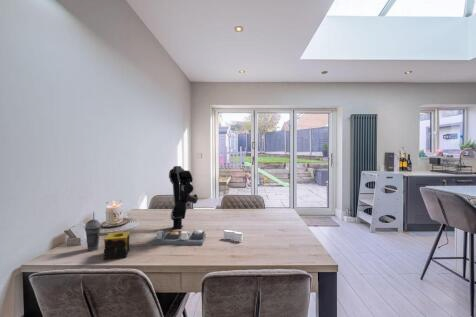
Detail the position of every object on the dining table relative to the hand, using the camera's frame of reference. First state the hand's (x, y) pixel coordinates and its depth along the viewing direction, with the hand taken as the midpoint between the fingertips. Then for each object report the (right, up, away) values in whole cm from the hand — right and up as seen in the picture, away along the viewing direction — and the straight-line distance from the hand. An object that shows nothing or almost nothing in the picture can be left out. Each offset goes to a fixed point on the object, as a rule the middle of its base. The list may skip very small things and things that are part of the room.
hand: (183, 216), depth 151 cm
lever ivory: (+3, -10, -12) cm, 16 cm away
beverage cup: (-43, -12, -23) cm, 50 cm away
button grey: (+10, -9, -9) cm, 16 cm away
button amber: (-4, -10, -8) cm, 13 cm away
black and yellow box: (-27, -13, -29) cm, 42 cm away
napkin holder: (+31, -13, -7) cm, 34 cm away
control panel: (0, -12, -8) cm, 15 cm away
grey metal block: (-11, -10, -12) cm, 19 cm away
